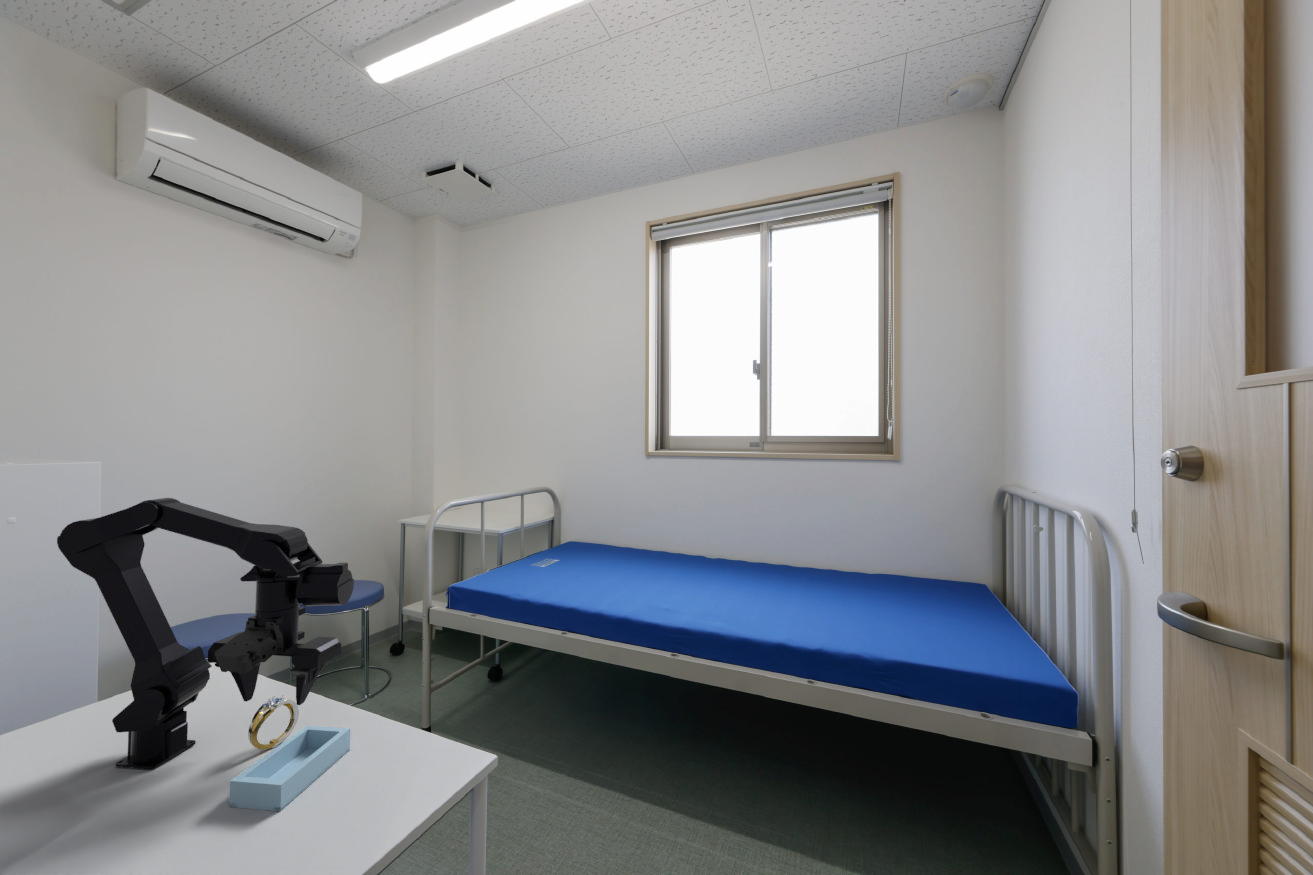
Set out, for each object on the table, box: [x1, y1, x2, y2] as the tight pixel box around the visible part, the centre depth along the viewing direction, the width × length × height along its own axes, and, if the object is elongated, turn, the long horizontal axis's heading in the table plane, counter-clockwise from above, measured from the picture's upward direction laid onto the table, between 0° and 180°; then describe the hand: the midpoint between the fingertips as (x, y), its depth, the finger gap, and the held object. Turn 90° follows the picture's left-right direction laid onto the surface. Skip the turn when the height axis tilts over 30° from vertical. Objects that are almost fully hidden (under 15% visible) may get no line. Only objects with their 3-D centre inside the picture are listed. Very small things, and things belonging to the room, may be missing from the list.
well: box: [228, 725, 351, 812], centre depth 71 cm, size 8×13×4 cm, turn 175°
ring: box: [247, 694, 300, 750], centre depth 78 cm, size 7×3×8 cm, turn 156°
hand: (274, 702), depth 78 cm, fingers open, 9 cm apart
